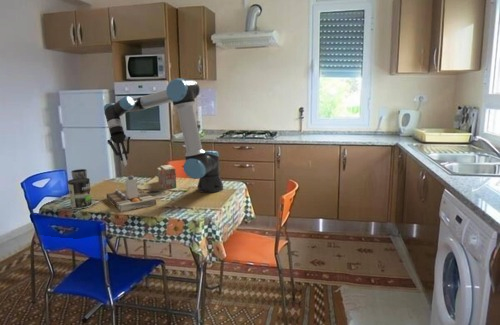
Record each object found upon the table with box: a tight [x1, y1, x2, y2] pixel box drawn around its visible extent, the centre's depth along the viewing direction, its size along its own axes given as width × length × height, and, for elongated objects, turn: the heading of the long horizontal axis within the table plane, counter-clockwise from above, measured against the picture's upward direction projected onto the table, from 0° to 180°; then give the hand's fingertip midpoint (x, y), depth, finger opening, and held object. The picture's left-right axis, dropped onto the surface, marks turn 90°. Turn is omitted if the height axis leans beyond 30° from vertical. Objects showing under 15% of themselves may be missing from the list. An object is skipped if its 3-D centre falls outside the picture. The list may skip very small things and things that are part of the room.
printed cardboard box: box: [156, 164, 177, 190], centre depth 231 cm, size 21×6×12 cm, turn 27°
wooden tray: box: [106, 187, 157, 212], centre depth 197 cm, size 28×18×4 cm, turn 35°
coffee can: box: [67, 177, 93, 210], centre depth 191 cm, size 10×10×14 cm
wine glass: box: [70, 168, 88, 179], centre depth 210 cm, size 8×8×15 cm
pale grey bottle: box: [125, 175, 139, 199], centre depth 193 cm, size 3×5×12 cm, turn 125°
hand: (125, 165), depth 205 cm, fingers closed
